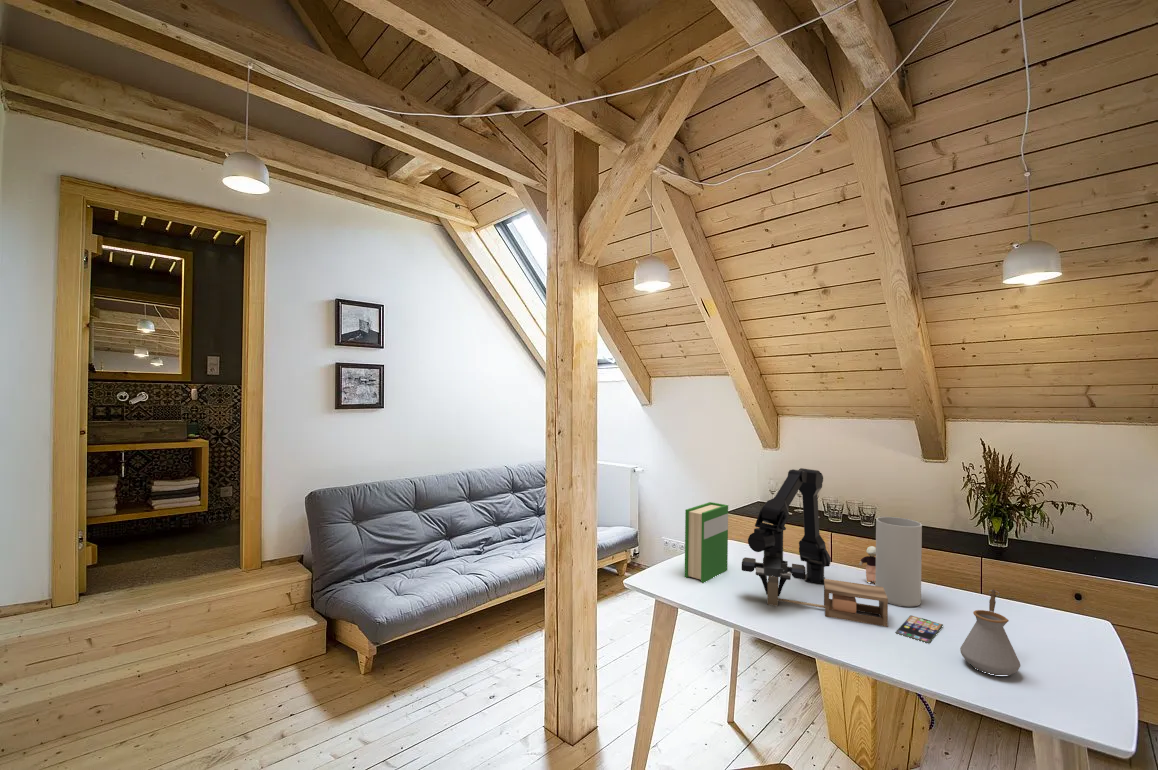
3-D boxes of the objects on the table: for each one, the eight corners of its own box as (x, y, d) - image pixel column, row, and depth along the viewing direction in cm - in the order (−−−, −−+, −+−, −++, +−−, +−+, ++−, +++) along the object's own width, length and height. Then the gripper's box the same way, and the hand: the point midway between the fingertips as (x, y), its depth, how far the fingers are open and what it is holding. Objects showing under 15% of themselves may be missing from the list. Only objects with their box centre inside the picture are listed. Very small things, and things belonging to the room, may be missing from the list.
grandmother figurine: (883, 582, 181) (883, 546, 181) (884, 586, 178) (885, 549, 178) (858, 579, 184) (858, 543, 185) (859, 582, 181) (859, 546, 181)
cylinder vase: (878, 603, 163) (879, 524, 163) (872, 589, 175) (873, 515, 175) (925, 610, 159) (926, 528, 159) (916, 595, 170) (916, 519, 170)
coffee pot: (1019, 687, 118) (1020, 621, 118) (957, 669, 125) (958, 607, 126) (1022, 652, 134) (1022, 594, 134) (966, 637, 141) (967, 582, 141)
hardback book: (703, 583, 179) (704, 513, 179) (684, 577, 184) (685, 509, 184) (727, 570, 192) (728, 505, 192) (709, 565, 197) (710, 502, 197)
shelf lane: (823, 604, 162) (824, 578, 162) (882, 613, 156) (882, 587, 156) (825, 616, 154) (825, 589, 154) (887, 626, 147) (887, 598, 147)
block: (768, 597, 167) (768, 575, 167) (854, 611, 158) (854, 588, 158) (767, 604, 162) (767, 582, 162) (856, 619, 152) (856, 595, 152)
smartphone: (894, 635, 144) (894, 630, 144) (910, 618, 154) (910, 614, 154) (929, 645, 138) (929, 641, 138) (943, 628, 148) (943, 623, 148)
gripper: (740, 548, 160) (739, 599, 160) (806, 557, 153) (805, 610, 153) (743, 539, 170) (742, 587, 170) (805, 546, 163) (805, 596, 163)
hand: (772, 595), depth 164 cm, fingers closed on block, 3 cm apart
